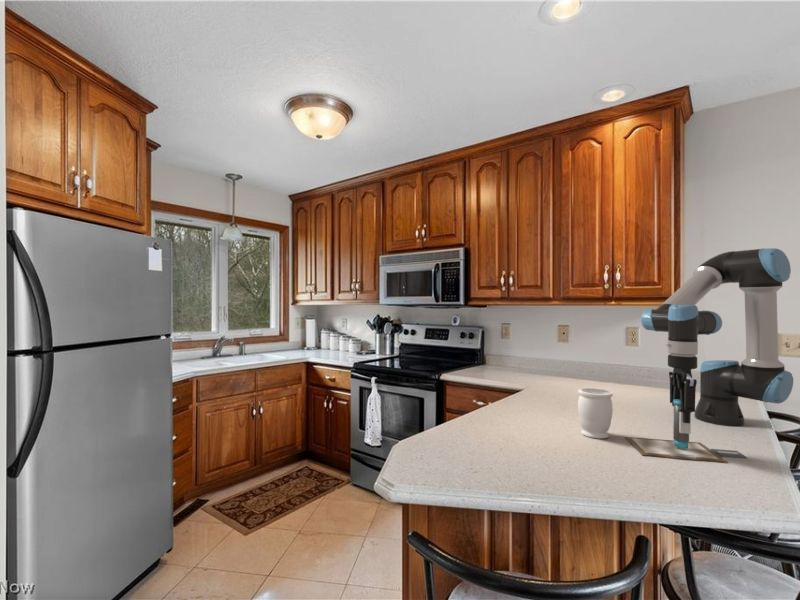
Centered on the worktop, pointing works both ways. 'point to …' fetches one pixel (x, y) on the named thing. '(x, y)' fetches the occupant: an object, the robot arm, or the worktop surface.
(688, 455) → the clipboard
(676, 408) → the grey and teal cylinder
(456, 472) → the worktop surface
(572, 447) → the worktop surface
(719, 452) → the grey slotted plate
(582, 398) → the jar
